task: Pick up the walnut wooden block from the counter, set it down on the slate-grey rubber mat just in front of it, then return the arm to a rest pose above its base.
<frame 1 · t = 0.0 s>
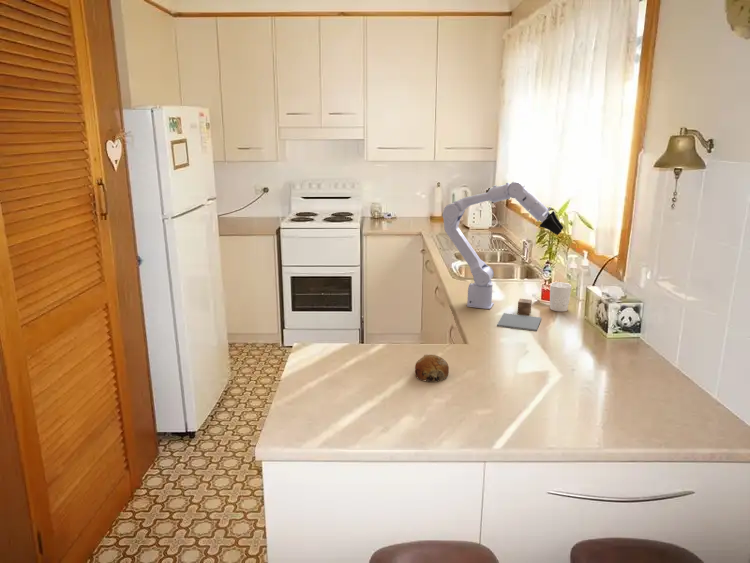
hand: (560, 231, 210), 32 cm above the worktop, tool tilted 50°, fingers open, 7 cm apart
walnut block: (524, 313, 220), on the worktop
coaster mat: (519, 322, 209), on the worktop
white cup: (558, 309, 224), on the worktop
brown rounded dome: (431, 376, 165), on the worktop
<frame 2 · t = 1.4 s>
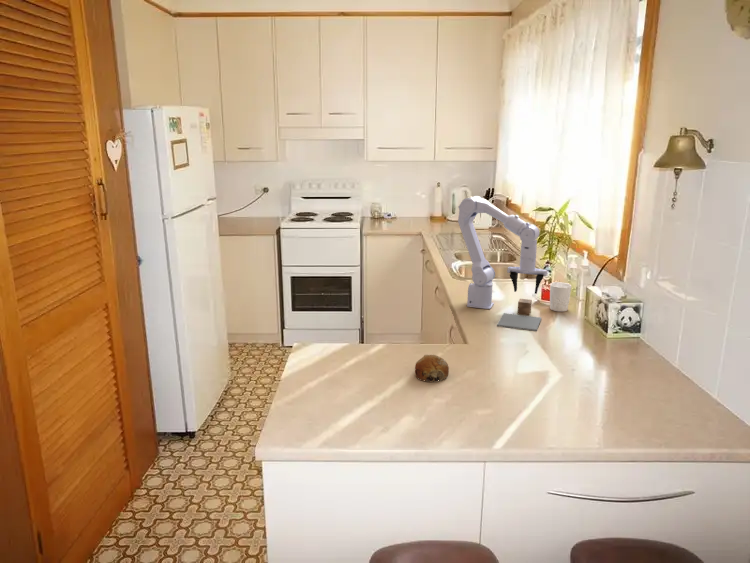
hand: (525, 292, 217), 8 cm above the worktop, tool pointing down, fingers open, 7 cm apart
nothing on the worktop moved.
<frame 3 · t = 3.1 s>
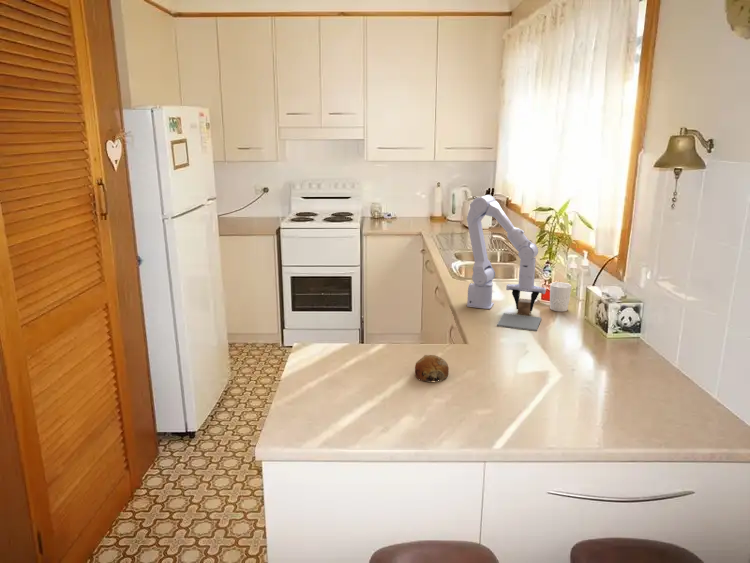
hand: (524, 309, 219), 1 cm above the worktop, tool pointing down, fingers closed on walnut block, 4 cm apart
walnut block: (524, 312, 220), on the worktop, touching gripper
everything else where it was.
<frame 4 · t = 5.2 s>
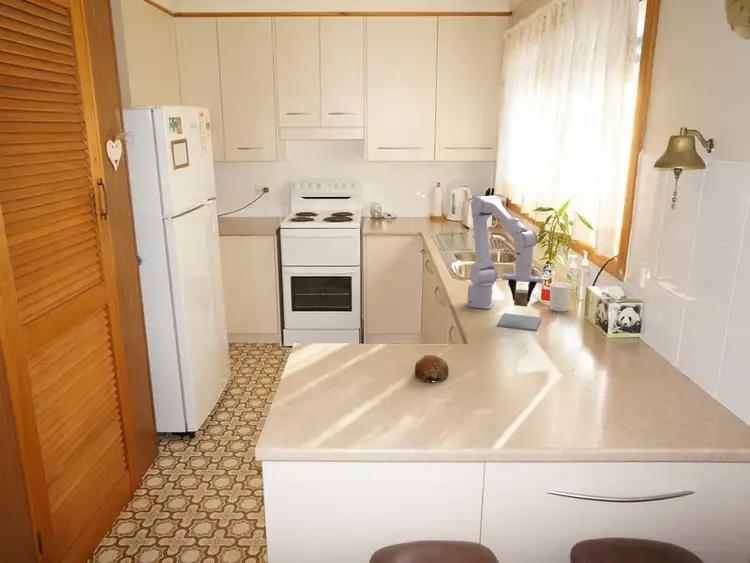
hand: (521, 300, 207), 8 cm above the worktop, tool pointing down, fingers closed on walnut block, 4 cm apart
walnut block: (521, 304, 208), point 7 cm above the worktop, touching gripper
everything else where it was.
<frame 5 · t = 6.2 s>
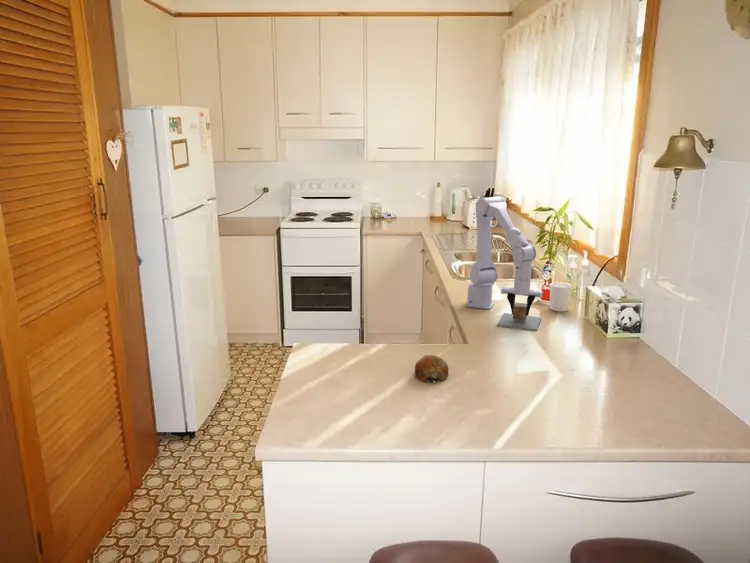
hand: (520, 314, 208), 3 cm above the worktop, tool pointing down, fingers closed on walnut block, 4 cm apart
walnut block: (520, 317, 209), point 2 cm above the worktop, touching gripper
everything else where it was.
when the fingers open (3 cm above the worktop, at t = 7.2 s): walnut block stays where it is, resting on coaster mat.
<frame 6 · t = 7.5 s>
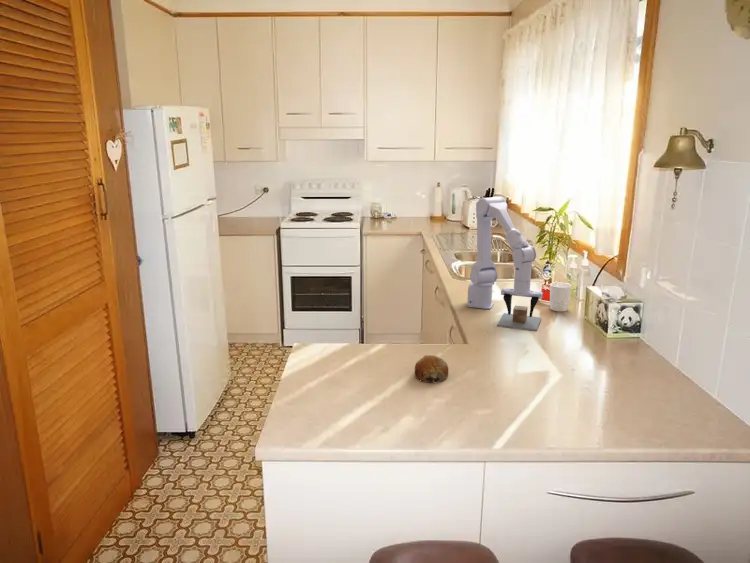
hand: (520, 315, 208), 3 cm above the worktop, tool pointing down, fingers open, 7 cm apart
walnut block: (519, 320, 209), point 1 cm above the worktop, touching coaster mat
everything else where it was.
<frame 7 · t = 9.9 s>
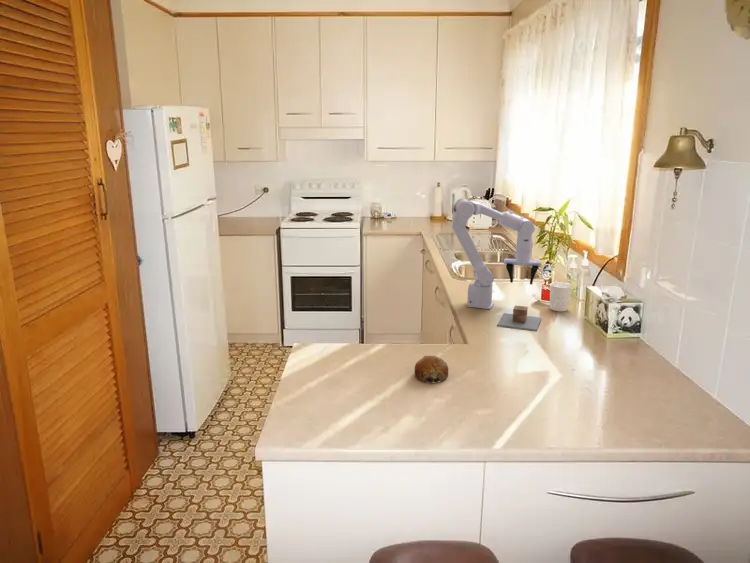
hand: (521, 283, 226), 9 cm above the worktop, tool pointing down, fingers open, 7 cm apart
nothing on the worktop moved.
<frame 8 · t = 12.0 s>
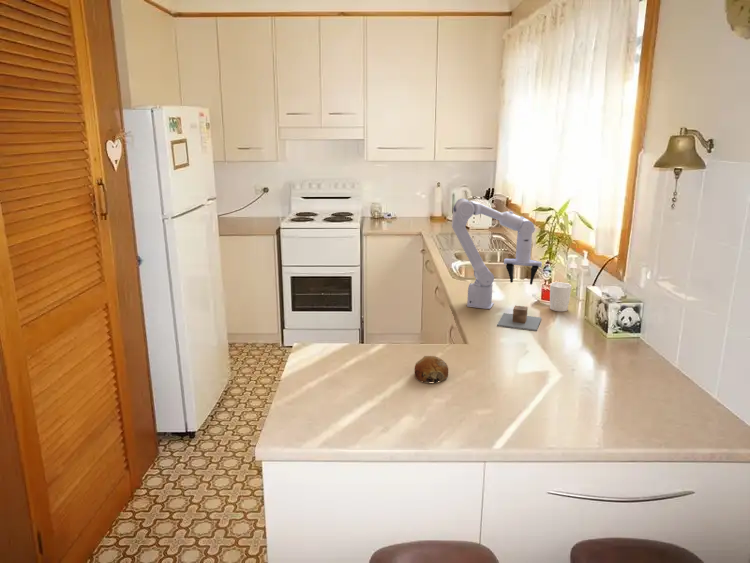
hand: (521, 283, 226), 9 cm above the worktop, tool pointing down, fingers open, 7 cm apart
nothing on the worktop moved.
at the end: walnut block inside the target area on the coaster mat (0.3 cm from its centre), point 0.6 cm above the coaster mat's base; walnut block tilted 0°; the gripper is holding nothing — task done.
